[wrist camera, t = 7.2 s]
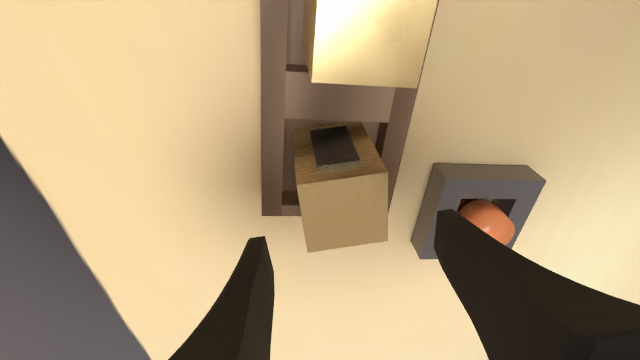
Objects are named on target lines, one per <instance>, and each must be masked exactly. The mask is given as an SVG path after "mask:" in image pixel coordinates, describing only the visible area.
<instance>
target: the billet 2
mask: <svg viewBox="0 0 640 360" xmlns="http://www.w3.org/2000/svg"><path fill="white" fill-rule="evenodd" d="M292 138H293V149H294V161H295V173H296V185H297V191H298V197H299V203H300V209H301V215H302V221H303V227H304V233H305V239H306V245H307V251H308V252H315V251H322V250H328V249H335V248H342V247H348V246H355V245H362V244H368V243H375V242H382V241H388V171H387V169H386V167H385V165H384V163H383V162H382V160H381V158H380V156H379V154H378V152H377V150H376V149H375V147H374V145H373V143H372V141H371V139H370V137H369V136H368V134H367V132H366V130H365V128H364V126H363V124H362V123H361V121H346V122H339V123H332V124H324V125H317V126H310V127H303V128H295V129H292Z"/></svg>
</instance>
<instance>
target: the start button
mask: <svg viewBox="0 0 640 360" xmlns="http://www.w3.org/2000/svg"><path fill="white" fill-rule="evenodd" d="M458 213H459V214H460V215H462V216H463V217H464V218H466V219H467V220H469V221H470V222H471V223H473V224H474V225H476V226H477V227H478V228H480V229H481V230H483V231H484V232H485V233H487V234H488V235H490V236H491V237H493V238H494V239H496V240H497V241H499V242H500V243H502V244H504V245H505V246H506V245H507V244H508V243H509V242H510V240H511V239H512V237H513V235H514V232H515V226H514V224H513V223H512V221H511V220H510V219H509V218H508V217H507V216H506V215H505V214H504V213H503V212H502V211H501V209H500V208H499V207H498V206H497V205H496V204H495V203H494V202H492V201H490V200H485V199H482V200H476V201H473V202H470V203H468V204H467V205H465V206H464V207H463V208H461V209H460V210H459V212H458Z"/></svg>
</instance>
